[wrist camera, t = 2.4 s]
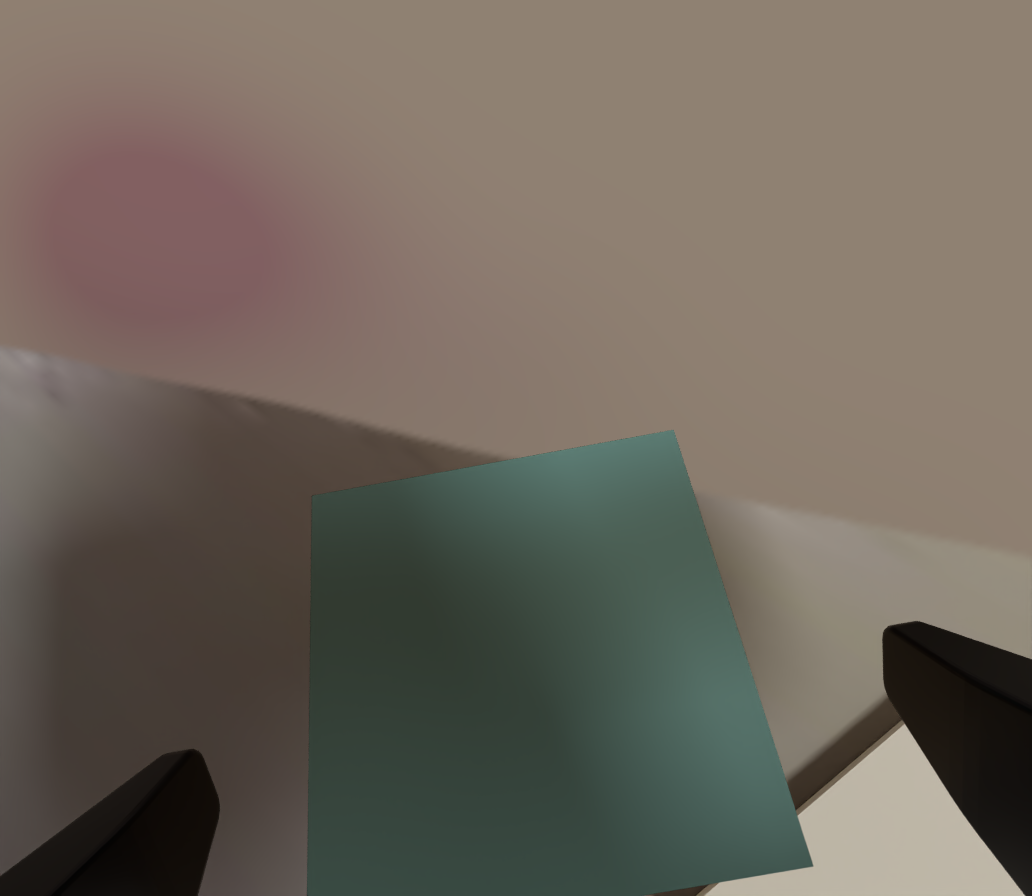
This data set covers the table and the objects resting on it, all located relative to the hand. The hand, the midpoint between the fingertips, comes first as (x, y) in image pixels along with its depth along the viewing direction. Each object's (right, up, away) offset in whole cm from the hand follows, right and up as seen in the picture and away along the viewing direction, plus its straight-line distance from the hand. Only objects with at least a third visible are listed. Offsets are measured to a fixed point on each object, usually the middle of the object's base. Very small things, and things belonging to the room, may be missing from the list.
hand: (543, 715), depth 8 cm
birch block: (+1, -4, +7) cm, 8 cm away
